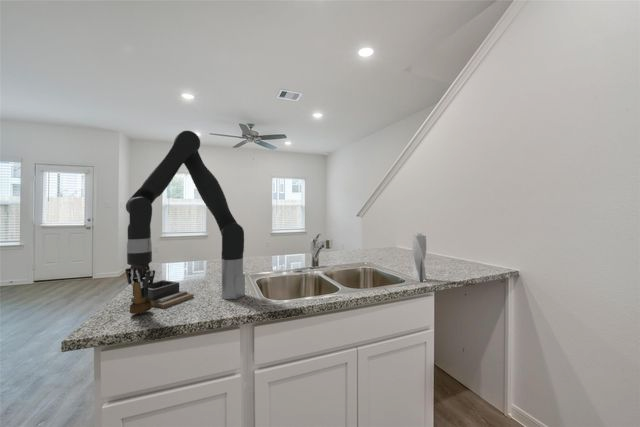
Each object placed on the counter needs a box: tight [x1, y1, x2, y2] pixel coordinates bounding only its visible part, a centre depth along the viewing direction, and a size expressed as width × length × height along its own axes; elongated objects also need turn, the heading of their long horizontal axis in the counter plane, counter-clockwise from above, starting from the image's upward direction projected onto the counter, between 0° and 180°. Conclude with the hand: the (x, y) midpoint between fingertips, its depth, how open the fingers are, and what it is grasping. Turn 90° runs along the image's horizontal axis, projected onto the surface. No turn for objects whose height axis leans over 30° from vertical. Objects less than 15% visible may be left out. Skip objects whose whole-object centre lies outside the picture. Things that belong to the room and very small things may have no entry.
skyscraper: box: [411, 230, 427, 283], centre depth 143 cm, size 8×8×28 cm
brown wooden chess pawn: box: [129, 265, 152, 315], centre depth 94 cm, size 7×6×18 cm
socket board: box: [130, 279, 194, 309], centre depth 110 cm, size 20×14×6 cm
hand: (140, 296), depth 94 cm, fingers closed on brown wooden chess pawn, 4 cm apart
